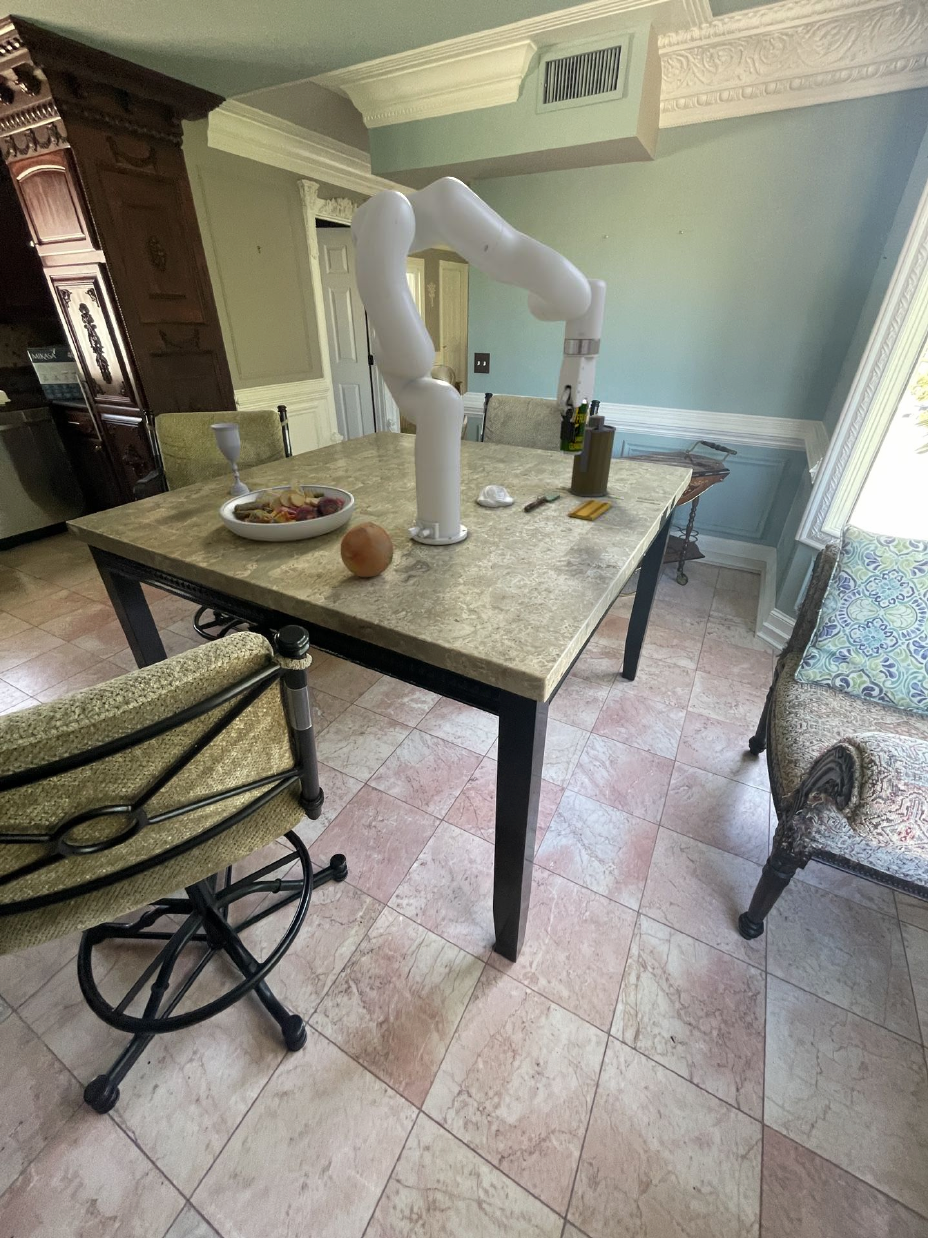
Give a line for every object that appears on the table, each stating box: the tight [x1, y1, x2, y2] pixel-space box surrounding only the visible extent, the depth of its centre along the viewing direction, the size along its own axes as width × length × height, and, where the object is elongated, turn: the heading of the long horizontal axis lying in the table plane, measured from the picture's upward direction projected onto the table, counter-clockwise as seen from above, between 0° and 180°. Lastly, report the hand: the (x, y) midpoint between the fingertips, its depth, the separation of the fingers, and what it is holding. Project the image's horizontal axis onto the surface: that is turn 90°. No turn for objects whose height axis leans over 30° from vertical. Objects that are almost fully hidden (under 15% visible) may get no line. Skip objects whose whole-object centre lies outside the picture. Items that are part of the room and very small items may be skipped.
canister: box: [569, 415, 617, 498], centre depth 137 cm, size 11×10×20 cm
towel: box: [568, 499, 612, 521], centre depth 127 cm, size 13×6×1 cm, turn 146°
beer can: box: [559, 397, 589, 456], centre depth 114 cm, size 5×5×12 cm
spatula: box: [523, 491, 561, 512], centre depth 132 cm, size 17×4×1 cm, turn 146°
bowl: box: [219, 484, 356, 542], centre depth 118 cm, size 30×30×8 cm
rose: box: [476, 484, 514, 508], centre depth 133 cm, size 10×4×10 cm
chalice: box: [210, 422, 251, 496], centre depth 137 cm, size 7×7×18 cm
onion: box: [340, 521, 394, 579], centre depth 92 cm, size 10×10×10 cm
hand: (572, 436), depth 116 cm, fingers closed on beer can, 5 cm apart
